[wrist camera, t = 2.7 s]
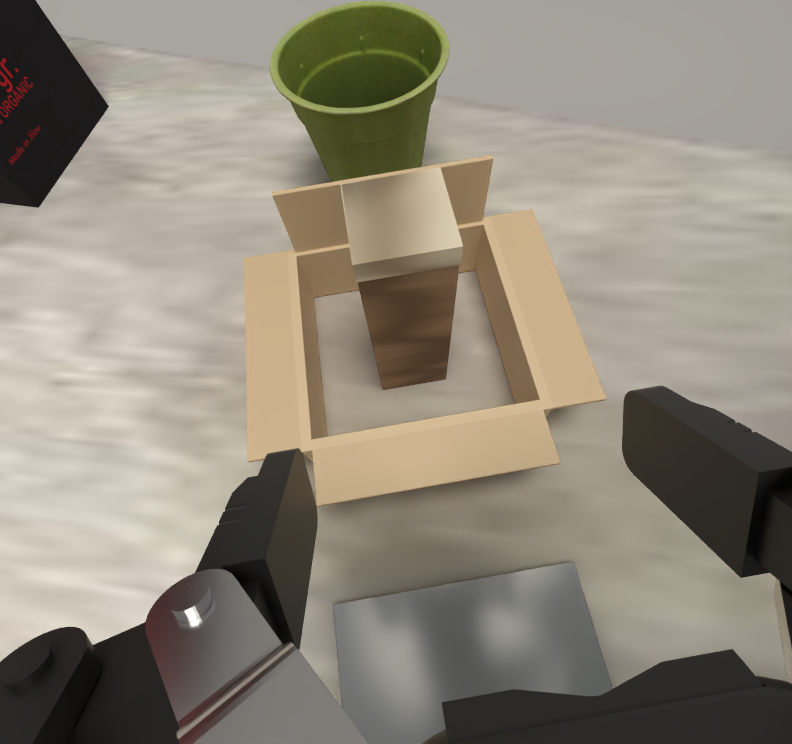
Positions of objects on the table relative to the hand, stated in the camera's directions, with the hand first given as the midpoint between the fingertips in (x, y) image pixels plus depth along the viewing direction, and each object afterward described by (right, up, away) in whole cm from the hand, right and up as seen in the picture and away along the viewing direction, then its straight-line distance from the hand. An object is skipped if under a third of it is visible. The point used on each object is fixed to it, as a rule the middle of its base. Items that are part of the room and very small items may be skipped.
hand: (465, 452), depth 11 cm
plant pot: (-3, +18, +28) cm, 33 cm away
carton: (-1, +2, +20) cm, 20 cm away
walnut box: (-1, +3, +21) cm, 21 cm away
